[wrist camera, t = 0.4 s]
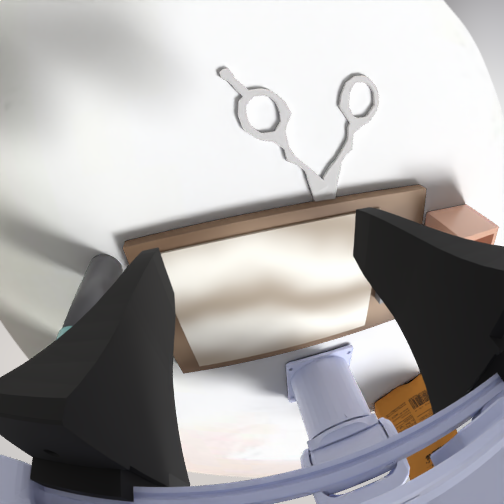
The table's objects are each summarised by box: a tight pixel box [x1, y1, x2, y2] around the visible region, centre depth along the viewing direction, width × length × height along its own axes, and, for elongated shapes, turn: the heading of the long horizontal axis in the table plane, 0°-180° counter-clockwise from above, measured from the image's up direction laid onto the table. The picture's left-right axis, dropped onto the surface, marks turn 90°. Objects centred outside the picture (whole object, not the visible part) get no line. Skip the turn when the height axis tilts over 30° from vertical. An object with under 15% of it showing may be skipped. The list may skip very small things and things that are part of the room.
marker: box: [56, 255, 123, 340], centre depth 17 cm, size 3×3×9 cm
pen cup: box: [425, 204, 499, 245], centre depth 23 cm, size 6×6×5 cm
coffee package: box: [375, 374, 457, 480], centre depth 35 cm, size 10×12×22 cm
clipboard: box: [123, 185, 427, 373], centre depth 24 cm, size 15×24×2 cm, turn 98°
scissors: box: [219, 68, 379, 202], centre depth 20 cm, size 11×1×20 cm
